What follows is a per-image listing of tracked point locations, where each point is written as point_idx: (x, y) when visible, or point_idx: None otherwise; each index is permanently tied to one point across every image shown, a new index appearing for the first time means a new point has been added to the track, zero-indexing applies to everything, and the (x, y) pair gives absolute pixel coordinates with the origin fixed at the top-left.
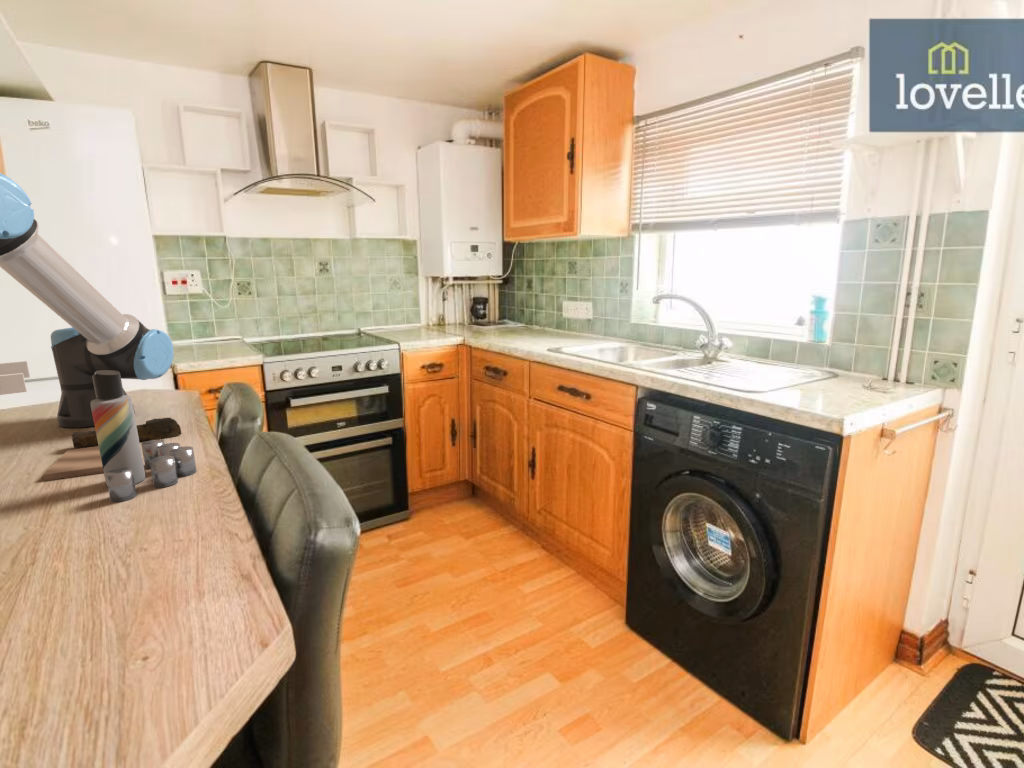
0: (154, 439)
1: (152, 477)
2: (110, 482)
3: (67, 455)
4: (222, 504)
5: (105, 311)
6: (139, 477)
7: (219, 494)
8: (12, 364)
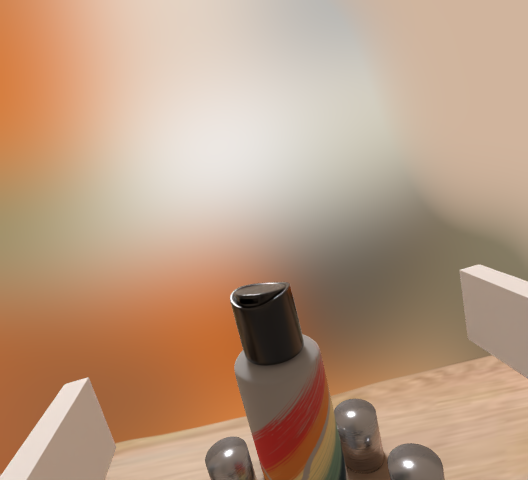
0: None
1: (370, 454)
2: None
3: None
4: (477, 371)
5: None
6: None
7: (436, 380)
8: (71, 422)
